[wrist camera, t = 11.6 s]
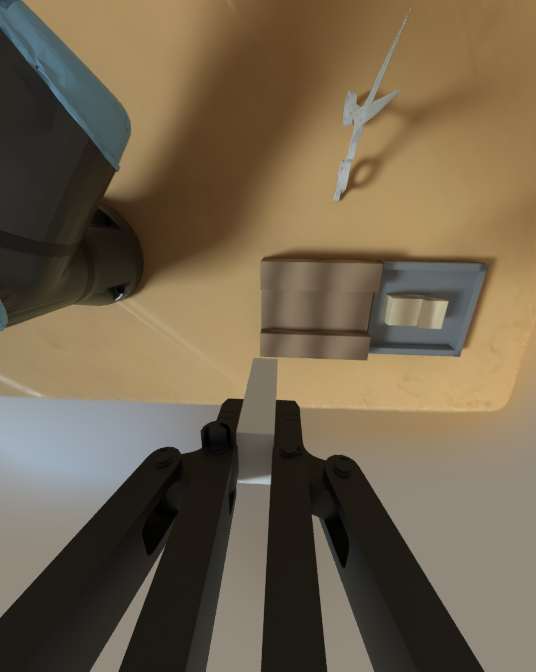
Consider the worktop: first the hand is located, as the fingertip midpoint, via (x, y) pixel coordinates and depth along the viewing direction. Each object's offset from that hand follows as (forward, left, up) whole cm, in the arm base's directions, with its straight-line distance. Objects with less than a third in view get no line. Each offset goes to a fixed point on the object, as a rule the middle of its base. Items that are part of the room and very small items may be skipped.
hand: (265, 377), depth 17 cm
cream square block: (+19, -2, -26) cm, 32 cm away
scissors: (+8, +18, -27) cm, 33 cm away
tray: (+22, -2, -26) cm, 34 cm away
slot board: (+6, -2, -26) cm, 27 cm away
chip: (+21, -2, -24) cm, 32 cm away
